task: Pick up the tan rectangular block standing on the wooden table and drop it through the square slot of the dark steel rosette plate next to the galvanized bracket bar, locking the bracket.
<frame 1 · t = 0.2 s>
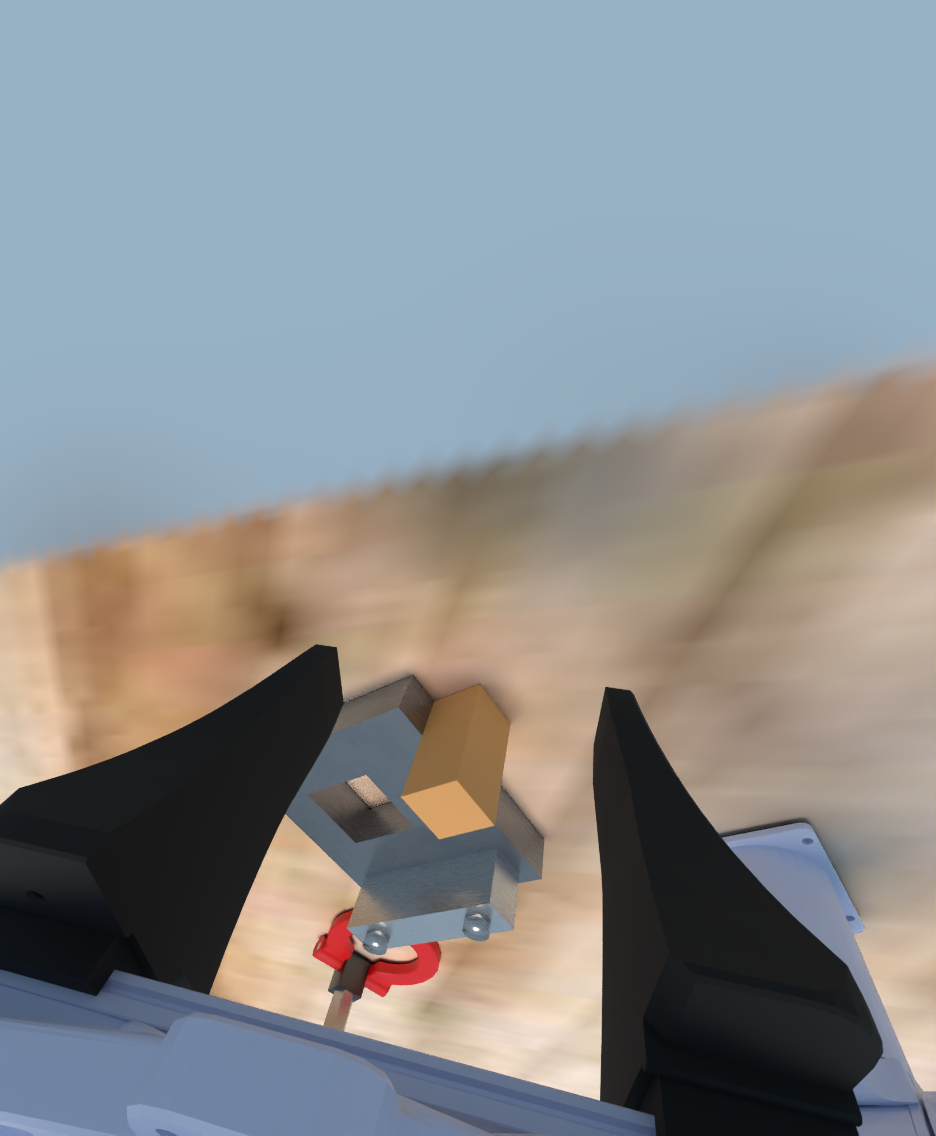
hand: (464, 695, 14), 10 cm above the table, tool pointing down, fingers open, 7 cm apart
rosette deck: (401, 788, 31), on the table
tan rectangular block: (472, 712, 27), on the table
tow hook: (383, 938, 41), on the table
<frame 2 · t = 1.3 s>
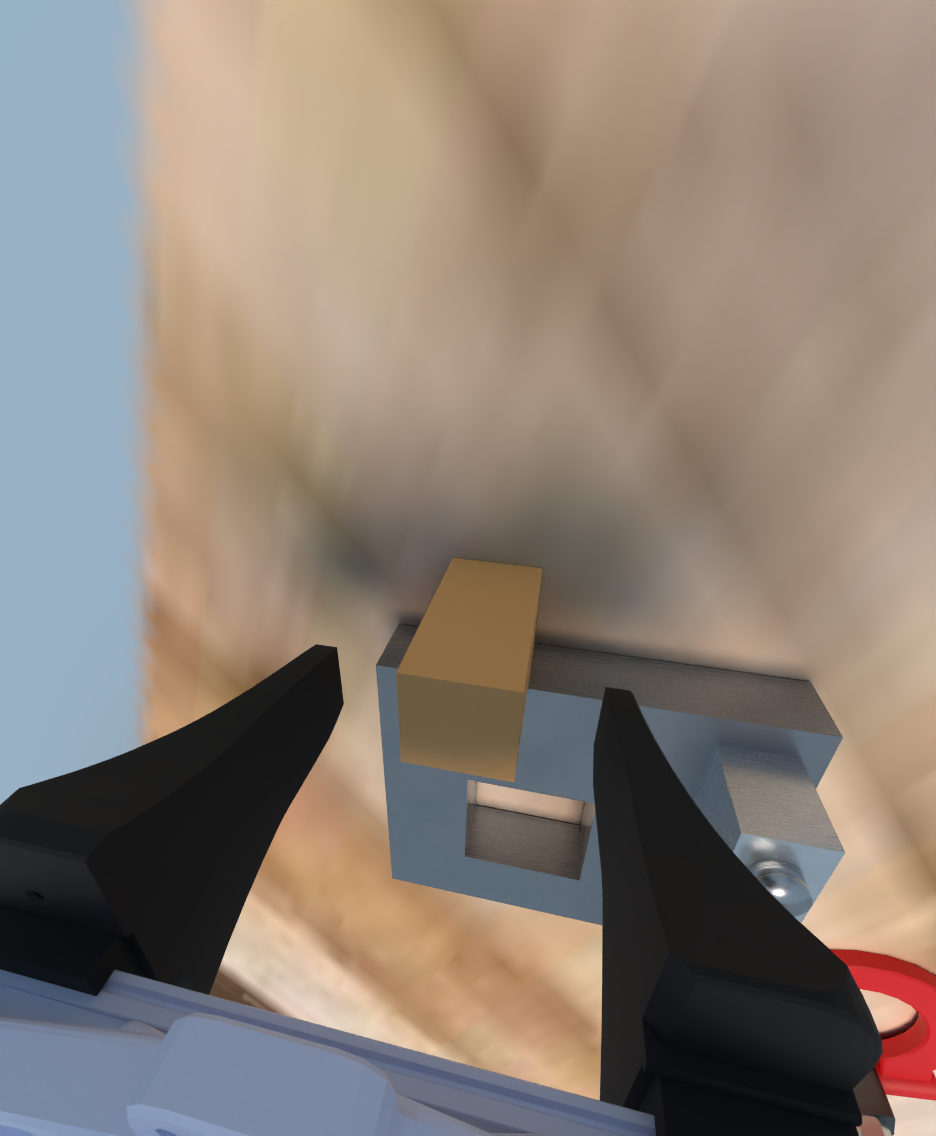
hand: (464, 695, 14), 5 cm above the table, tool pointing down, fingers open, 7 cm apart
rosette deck: (570, 769, 21), on the table
tan rectangular block: (494, 601, 18), on the table
tow hook: (839, 1000, 25), on the table
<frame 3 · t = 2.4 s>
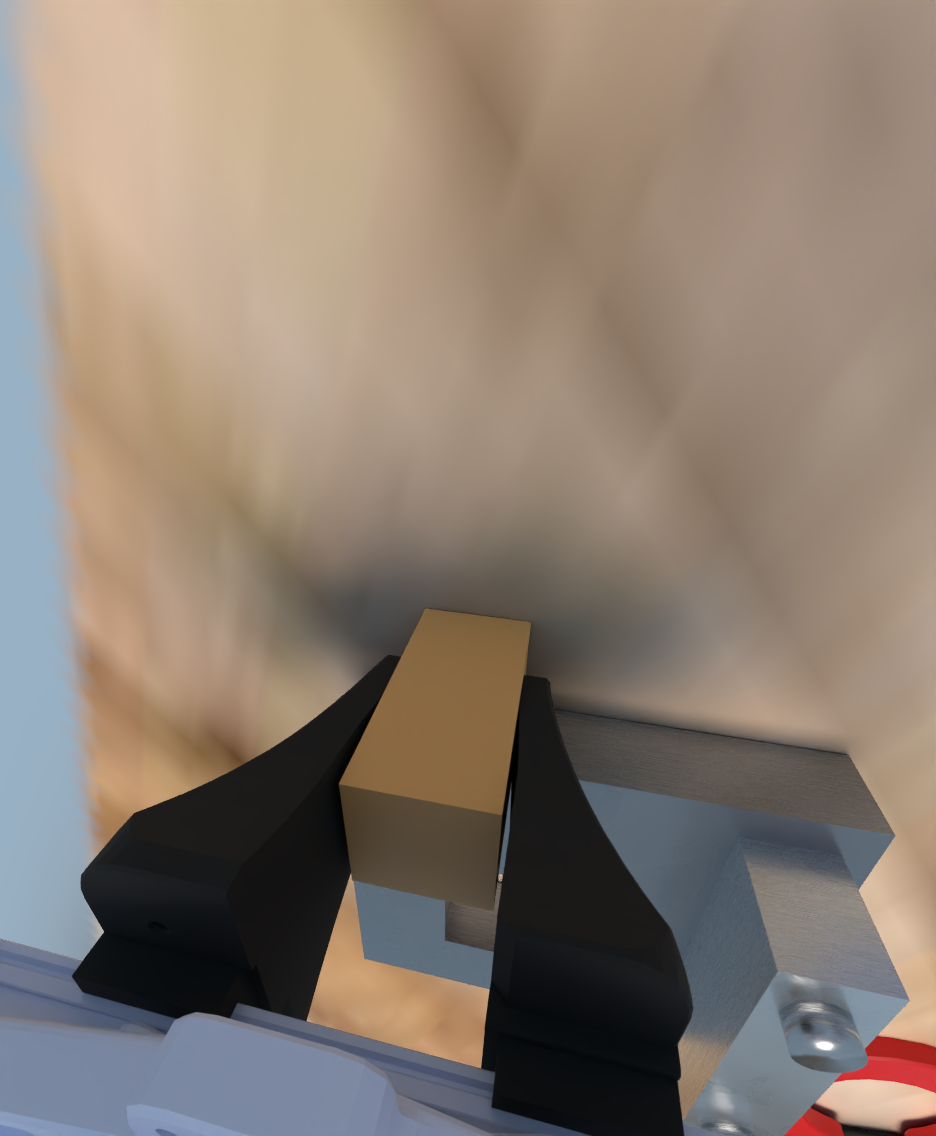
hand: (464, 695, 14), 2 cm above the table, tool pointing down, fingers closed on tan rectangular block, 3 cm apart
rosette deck: (565, 841, 18), on the table
tan rectangular block: (475, 657, 15), on the table, touching gripper
tow hook: (866, 1084, 22), on the table
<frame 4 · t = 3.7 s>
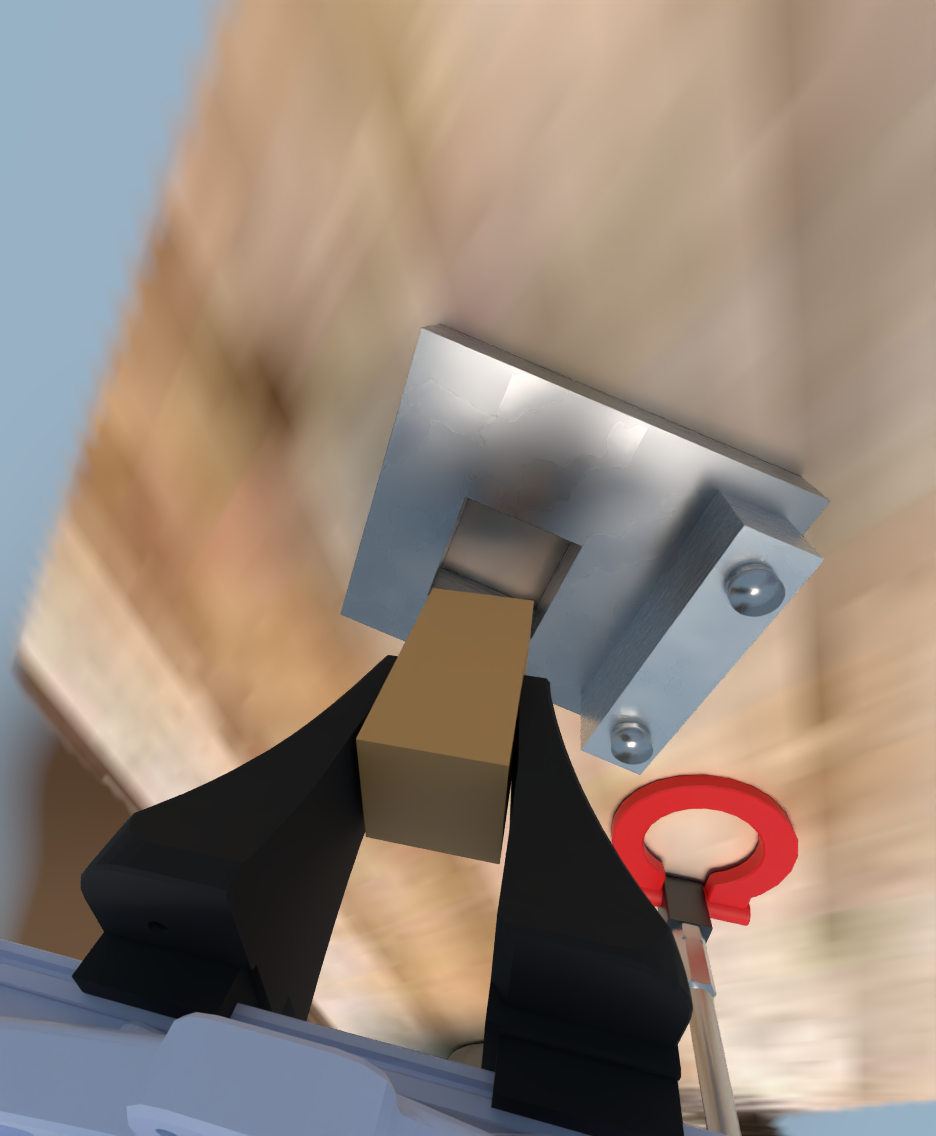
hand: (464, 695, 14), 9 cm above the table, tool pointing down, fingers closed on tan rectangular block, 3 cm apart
plant pot: (528, 1076, 47), on the table
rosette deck: (550, 539, 21), on the table
tan rectangular block: (480, 636, 16), point 7 cm above the table, touching gripper
tow hook: (694, 833, 28), on the table
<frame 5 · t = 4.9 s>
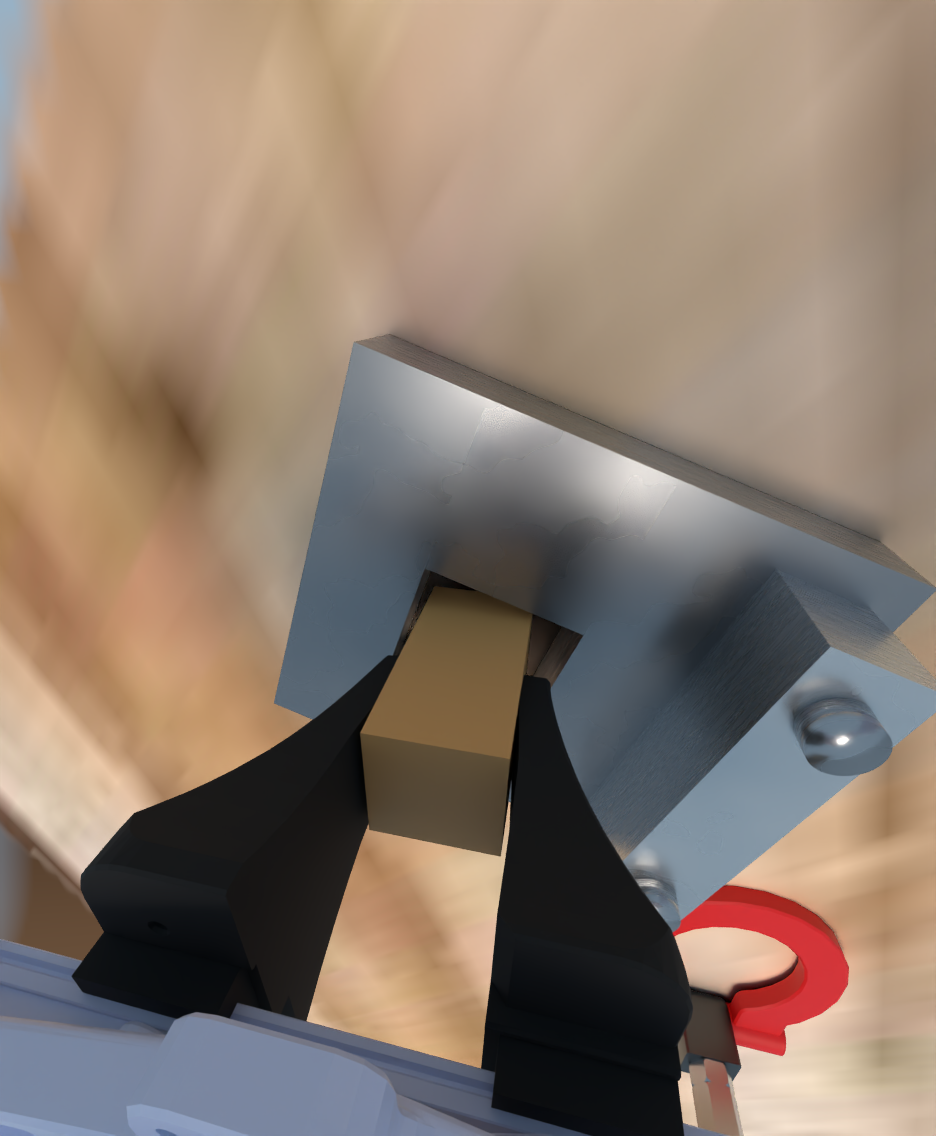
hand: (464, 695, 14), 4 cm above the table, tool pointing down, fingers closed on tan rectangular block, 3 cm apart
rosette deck: (542, 611, 16), on the table
tan rectangular block: (481, 633, 16), point 1 cm above the table, touching gripper
tow hook: (718, 945, 23), on the table
when the fingers open (3 cm above the table, at t = 5.4 s): tan rectangular block stays where it is, on the table.
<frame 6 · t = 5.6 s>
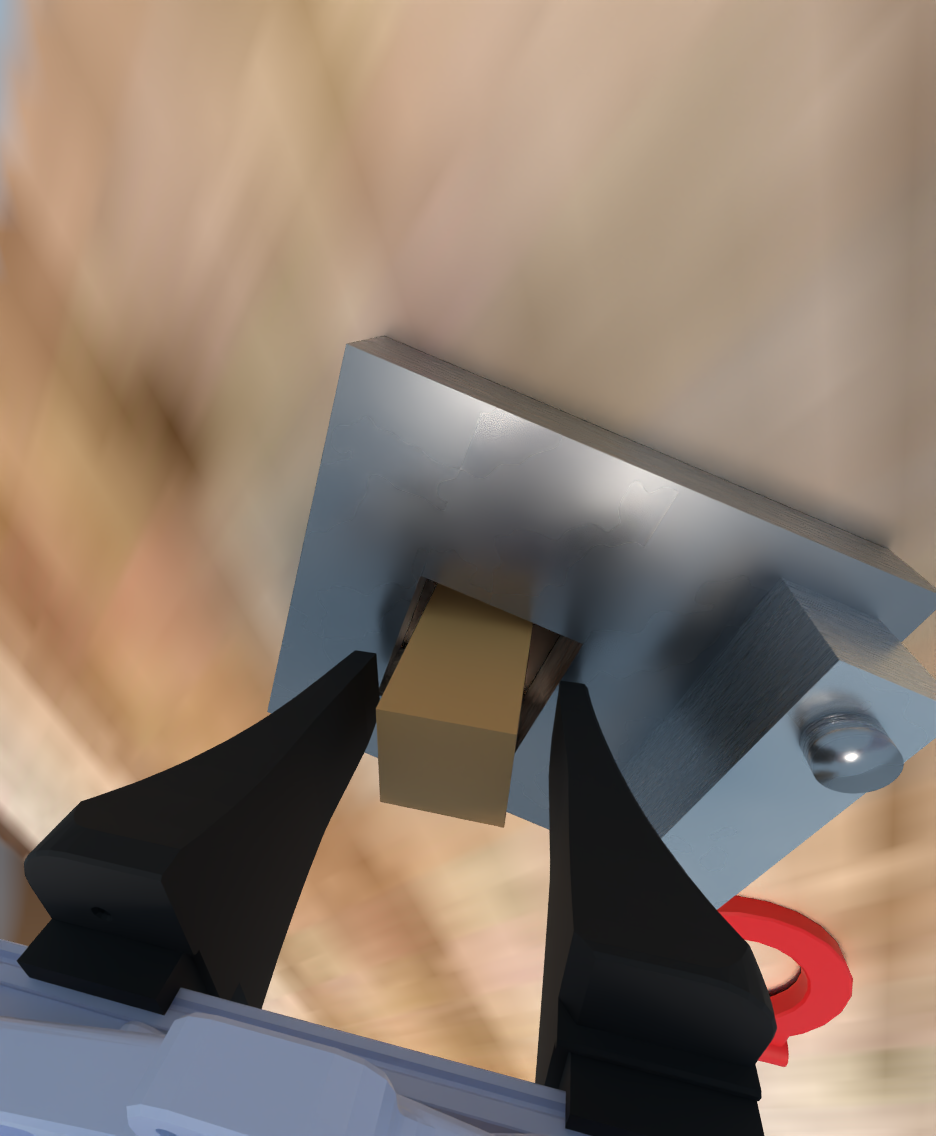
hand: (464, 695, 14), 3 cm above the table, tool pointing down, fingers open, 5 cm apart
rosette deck: (540, 618, 16), on the table
tan rectangular block: (486, 620, 17), on the table
tow hook: (719, 955, 23), on the table
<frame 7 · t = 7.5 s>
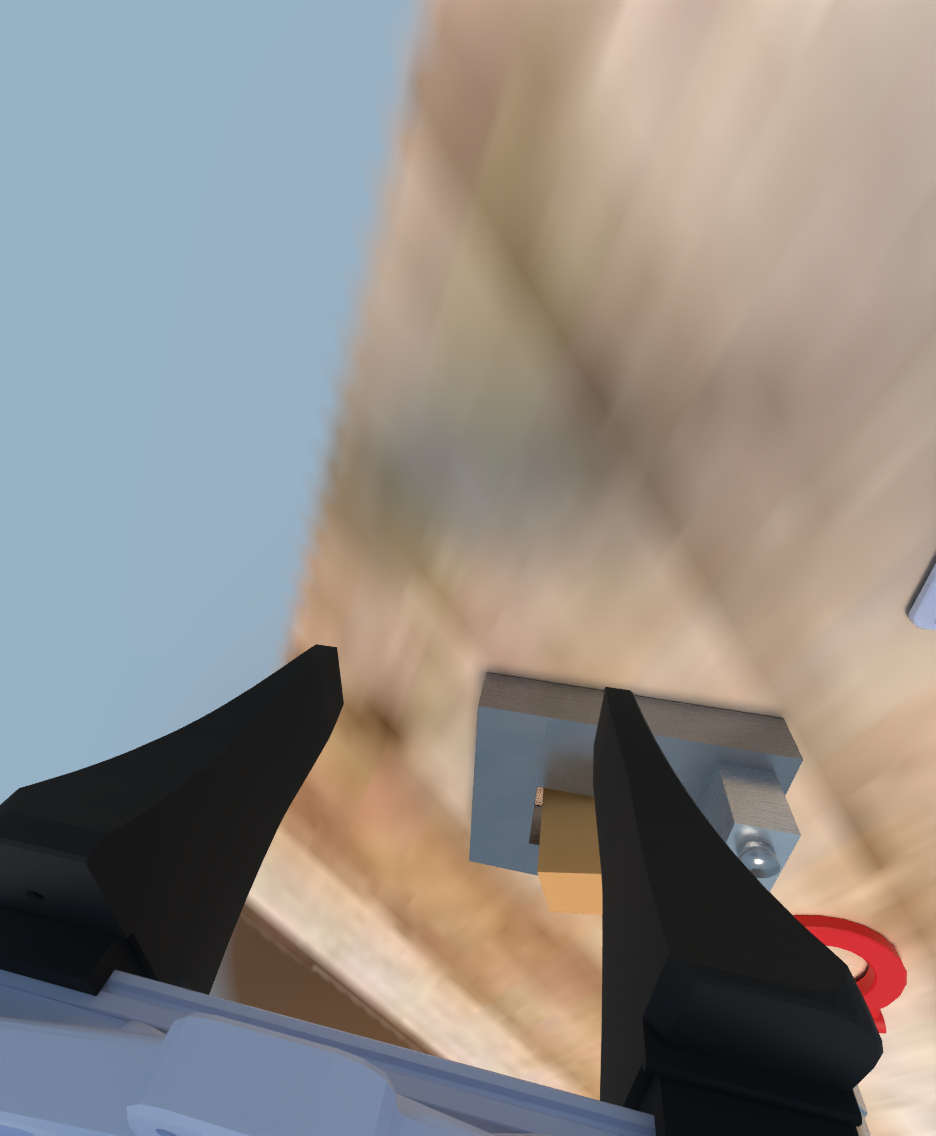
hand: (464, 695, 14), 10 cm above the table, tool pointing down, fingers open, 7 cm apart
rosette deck: (608, 778, 28), on the table
tan rectangular block: (577, 784, 28), on the table
tow hook: (809, 957, 32), on the table
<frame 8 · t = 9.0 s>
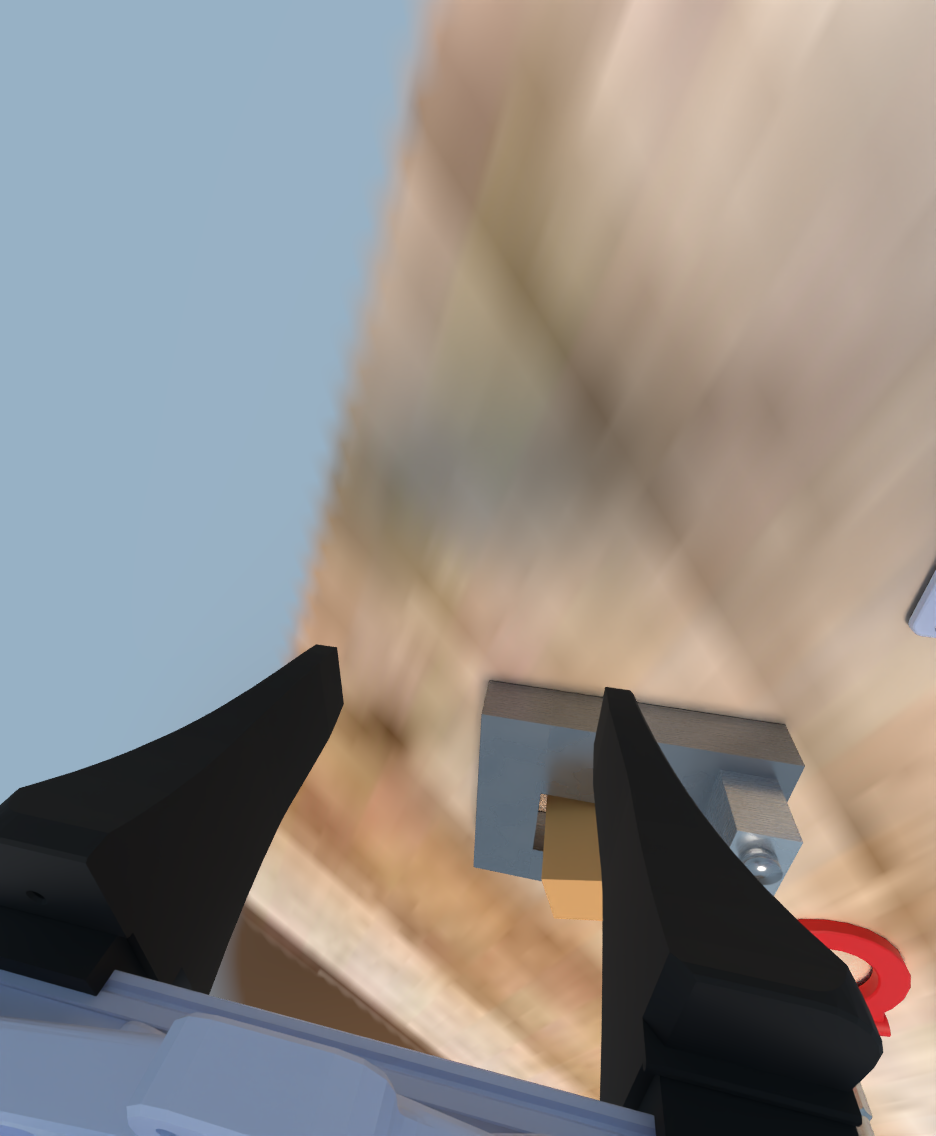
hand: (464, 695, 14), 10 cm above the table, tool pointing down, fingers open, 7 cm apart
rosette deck: (611, 784, 28), on the table
tan rectangular block: (580, 790, 29), on the table
tow hook: (813, 960, 32), on the table
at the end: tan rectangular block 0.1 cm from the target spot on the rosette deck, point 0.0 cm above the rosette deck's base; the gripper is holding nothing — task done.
